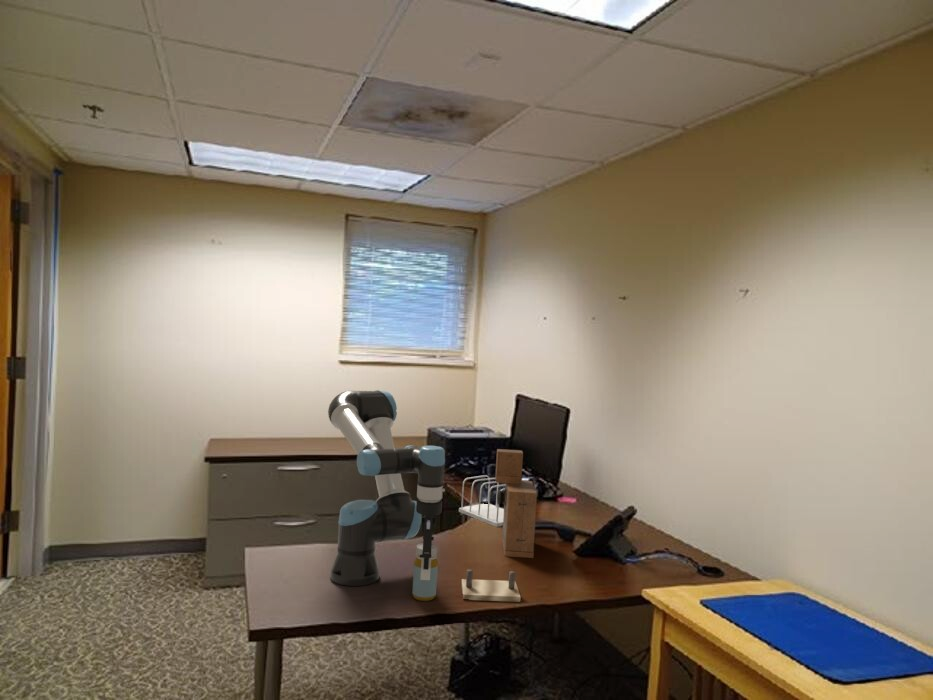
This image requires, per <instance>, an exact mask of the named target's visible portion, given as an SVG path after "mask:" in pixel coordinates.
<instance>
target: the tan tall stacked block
mask: <svg viewBox="0 0 933 700" xmlns="http://www.w3.org/2000/svg"><path fill="white" fill-rule="evenodd" d="M523 459H524V452H523V450H519V449H500V448H497V449H496V460H495V461H496V462H495V477H494V478H495V479H494V480H495V481H496V482H497V483H499V484H505V486H504V488H505V490H503V491H501V489H498V493H497V492H496V495H497V504H499V505H501V504H503V509H504V518H503V526H502V534H501V541H502V547H503V553H504V557H509V558H510V557H514V558H527V559H528V558H531V559H534V555H535V554H534V552H535V533H536V531H535V530H536V518H537V517H536V516H537V515H536V514H537V501H538V500H537V496H538V493H537V490H536V488H535V484H534V482H533V481H532V480H522V477H523V463H524V462H523V461H524V460H523ZM497 483H496V484H497Z"/></svg>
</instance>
